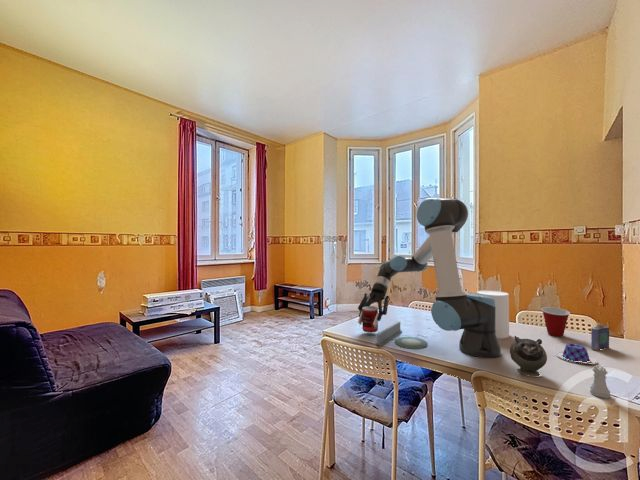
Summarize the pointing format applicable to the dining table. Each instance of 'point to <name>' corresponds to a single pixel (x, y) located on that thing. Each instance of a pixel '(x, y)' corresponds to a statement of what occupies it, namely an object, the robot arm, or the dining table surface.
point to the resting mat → (411, 342)
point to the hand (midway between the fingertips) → (366, 324)
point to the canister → (499, 311)
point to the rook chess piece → (600, 383)
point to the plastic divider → (388, 334)
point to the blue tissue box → (599, 337)
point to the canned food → (369, 318)
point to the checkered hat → (575, 353)
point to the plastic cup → (555, 320)
